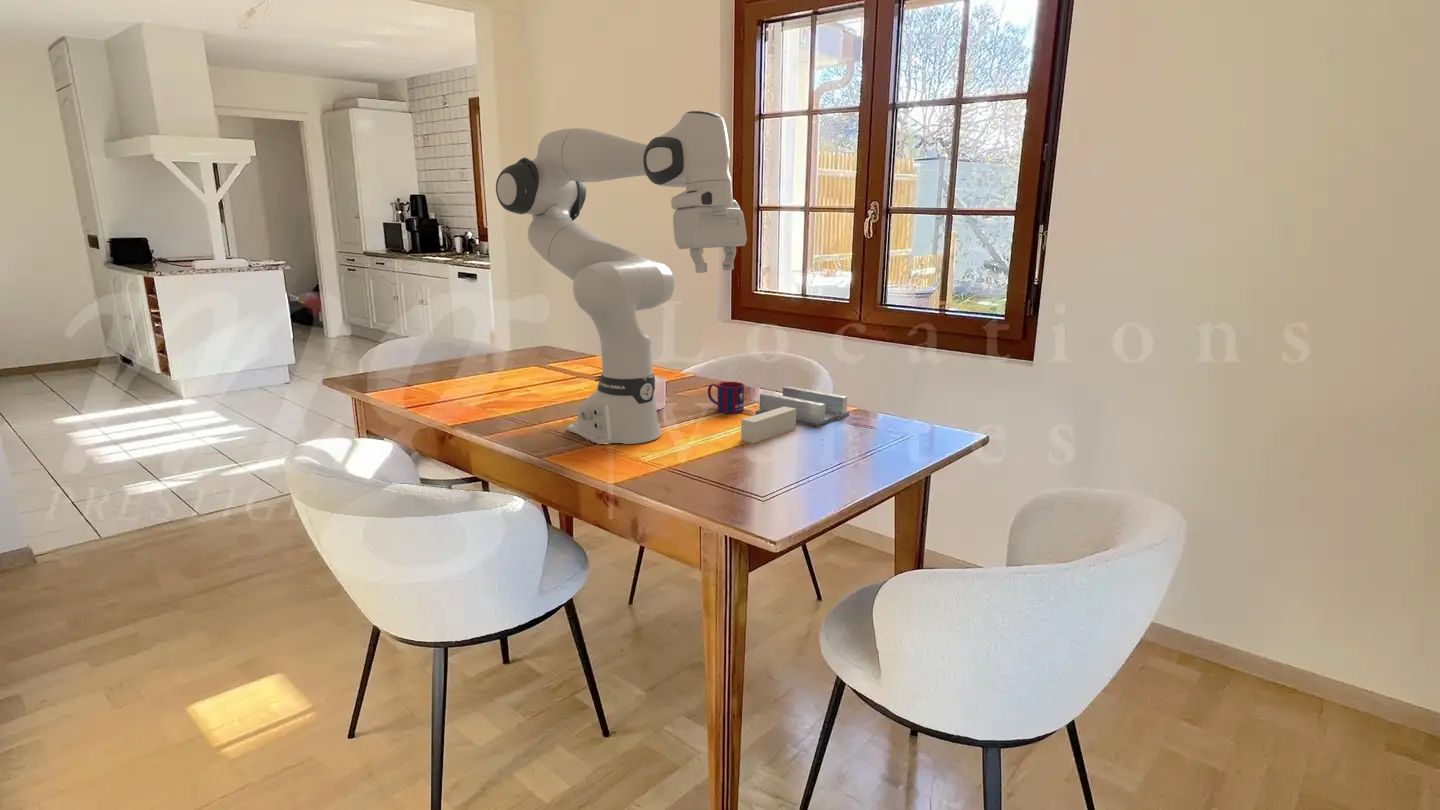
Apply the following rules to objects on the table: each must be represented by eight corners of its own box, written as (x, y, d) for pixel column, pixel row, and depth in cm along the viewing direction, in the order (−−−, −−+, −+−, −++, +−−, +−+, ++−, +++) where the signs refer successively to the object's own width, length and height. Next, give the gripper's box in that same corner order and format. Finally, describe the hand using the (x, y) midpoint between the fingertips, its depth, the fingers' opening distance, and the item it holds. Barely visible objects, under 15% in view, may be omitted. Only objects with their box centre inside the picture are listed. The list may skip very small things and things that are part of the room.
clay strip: (741, 441, 173) (741, 419, 172) (783, 426, 185) (784, 406, 184) (753, 444, 171) (753, 422, 170) (795, 429, 183) (796, 408, 182)
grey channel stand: (755, 414, 195) (756, 394, 194) (790, 403, 206) (790, 385, 205) (816, 427, 184) (817, 406, 183) (849, 414, 195) (850, 395, 194)
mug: (733, 415, 194) (733, 388, 193) (702, 409, 200) (702, 383, 199) (748, 410, 200) (749, 384, 198) (718, 404, 206) (718, 378, 204)
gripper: (725, 201, 160) (730, 269, 163) (665, 199, 144) (671, 275, 146) (751, 198, 157) (756, 267, 159) (692, 195, 140) (699, 273, 143)
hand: (715, 271), depth 153 cm, fingers open, 8 cm apart
